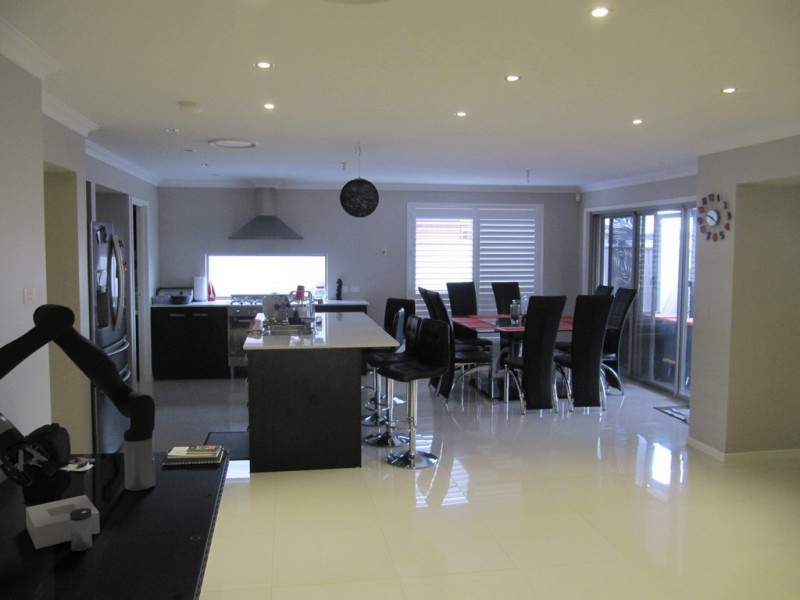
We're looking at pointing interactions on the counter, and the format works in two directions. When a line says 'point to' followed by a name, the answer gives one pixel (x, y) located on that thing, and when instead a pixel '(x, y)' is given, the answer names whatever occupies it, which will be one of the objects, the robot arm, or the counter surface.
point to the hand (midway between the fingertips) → (41, 478)
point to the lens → (81, 529)
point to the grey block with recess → (57, 520)
